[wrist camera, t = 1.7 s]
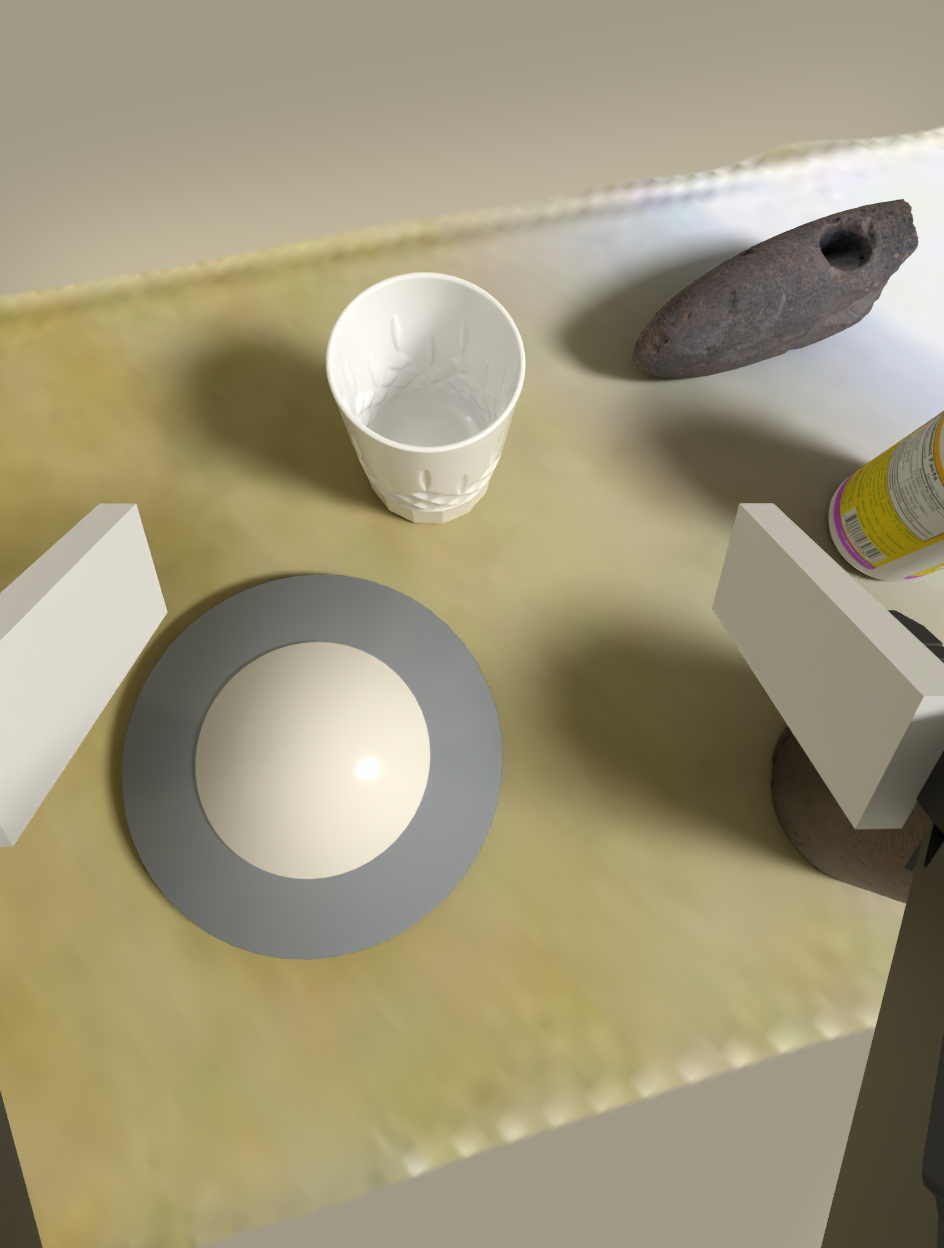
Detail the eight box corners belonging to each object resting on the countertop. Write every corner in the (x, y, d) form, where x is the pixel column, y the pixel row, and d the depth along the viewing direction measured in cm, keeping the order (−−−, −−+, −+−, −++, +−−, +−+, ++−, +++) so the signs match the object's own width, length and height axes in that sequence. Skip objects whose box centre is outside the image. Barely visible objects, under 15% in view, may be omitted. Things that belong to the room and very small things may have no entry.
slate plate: (55, 760, 32) (36, 760, 30) (326, 512, 35) (321, 502, 33) (311, 1039, 30) (304, 1054, 28) (573, 752, 33) (580, 752, 31)
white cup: (465, 380, 37) (474, 245, 27) (526, 502, 35) (558, 406, 26) (335, 432, 36) (294, 311, 26) (392, 558, 34) (373, 482, 25)
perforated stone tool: (637, 421, 37) (682, 346, 30) (601, 341, 38) (637, 251, 31) (867, 342, 38) (960, 254, 32) (827, 268, 39) (909, 166, 32)
